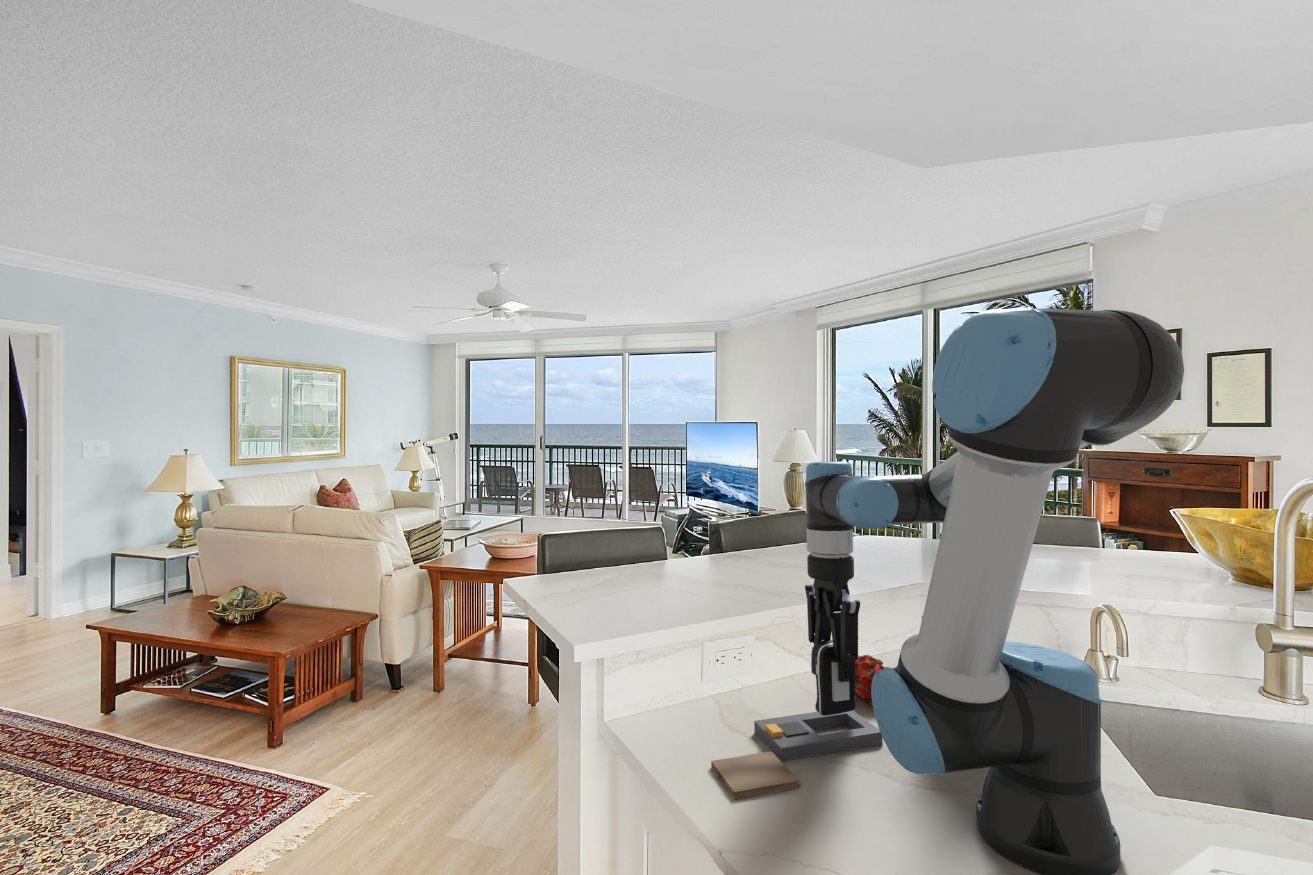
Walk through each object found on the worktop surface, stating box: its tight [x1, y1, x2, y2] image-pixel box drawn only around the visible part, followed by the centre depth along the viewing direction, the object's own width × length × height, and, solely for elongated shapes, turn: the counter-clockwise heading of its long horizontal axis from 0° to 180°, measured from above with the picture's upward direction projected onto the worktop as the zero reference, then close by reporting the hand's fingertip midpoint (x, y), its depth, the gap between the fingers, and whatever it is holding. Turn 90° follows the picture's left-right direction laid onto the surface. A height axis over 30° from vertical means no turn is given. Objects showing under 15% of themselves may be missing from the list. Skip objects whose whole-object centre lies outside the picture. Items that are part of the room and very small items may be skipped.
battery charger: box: [810, 639, 857, 716], centre depth 107 cm, size 7×4×11 cm, turn 110°
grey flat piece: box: [753, 710, 884, 762], centre depth 106 cm, size 10×18×3 cm, turn 106°
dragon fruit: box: [855, 654, 886, 706], centre depth 121 cm, size 8×8×12 cm
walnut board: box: [710, 750, 800, 800], centre depth 94 cm, size 9×10×1 cm
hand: (833, 693), depth 107 cm, fingers closed on battery charger, 4 cm apart
